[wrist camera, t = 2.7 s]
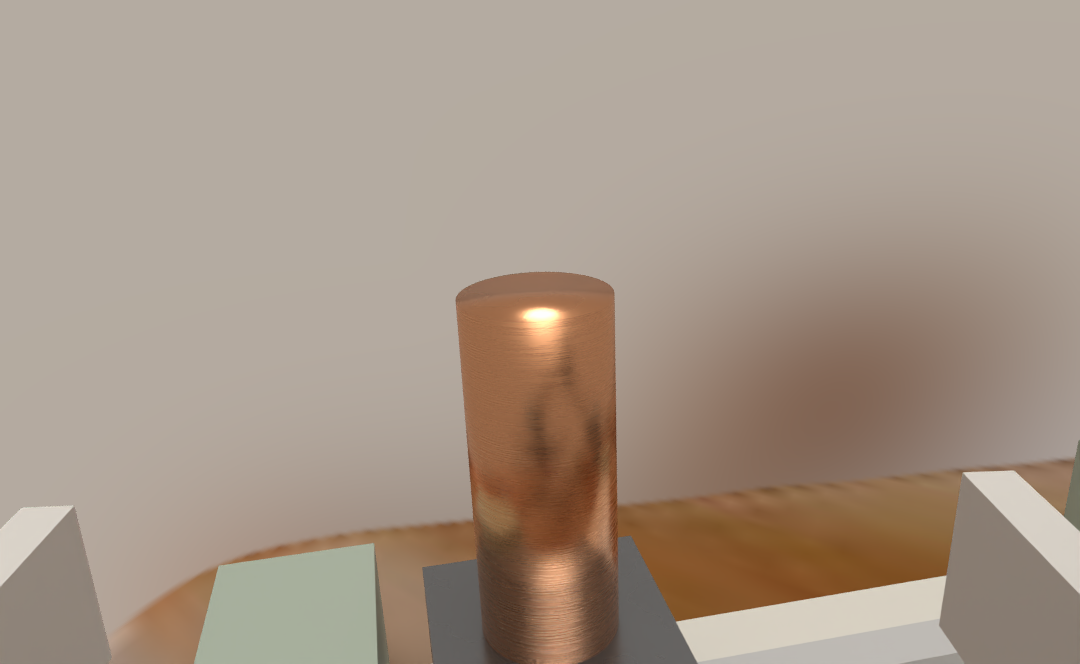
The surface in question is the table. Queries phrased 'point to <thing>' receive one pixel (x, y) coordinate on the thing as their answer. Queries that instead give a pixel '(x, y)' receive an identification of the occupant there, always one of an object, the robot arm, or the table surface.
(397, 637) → the table surface
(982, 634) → the robot arm
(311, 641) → the rail board
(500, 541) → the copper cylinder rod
